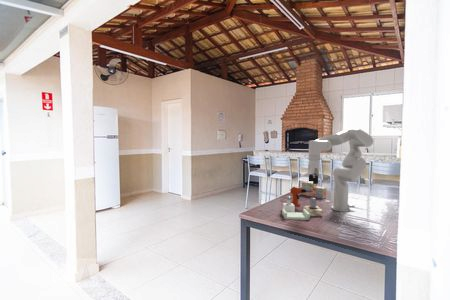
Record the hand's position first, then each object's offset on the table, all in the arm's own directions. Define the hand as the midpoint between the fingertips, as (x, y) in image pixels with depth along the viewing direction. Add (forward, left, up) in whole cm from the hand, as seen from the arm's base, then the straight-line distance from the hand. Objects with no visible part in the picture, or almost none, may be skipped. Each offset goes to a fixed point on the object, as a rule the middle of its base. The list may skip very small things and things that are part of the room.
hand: (313, 182), depth 159 cm
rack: (+14, +8, -22) cm, 27 cm away
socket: (0, 0, -22) cm, 22 cm away
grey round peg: (0, 0, -22) cm, 22 cm away
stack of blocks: (-17, -52, -23) cm, 59 cm away
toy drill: (+4, -17, -22) cm, 28 cm away
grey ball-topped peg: (+16, -4, -21) cm, 27 cm away
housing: (+16, -4, -22) cm, 27 cm away
